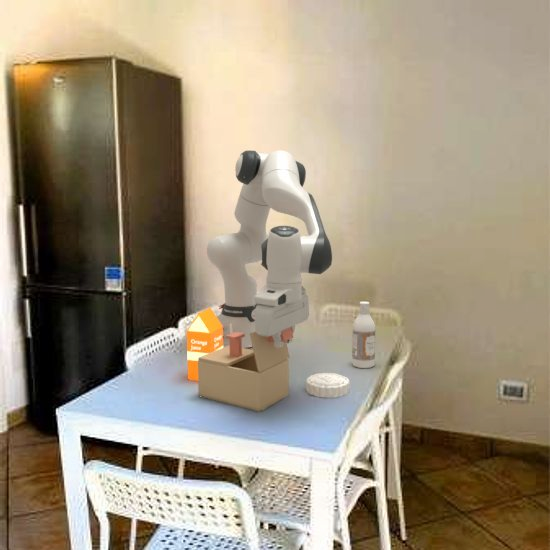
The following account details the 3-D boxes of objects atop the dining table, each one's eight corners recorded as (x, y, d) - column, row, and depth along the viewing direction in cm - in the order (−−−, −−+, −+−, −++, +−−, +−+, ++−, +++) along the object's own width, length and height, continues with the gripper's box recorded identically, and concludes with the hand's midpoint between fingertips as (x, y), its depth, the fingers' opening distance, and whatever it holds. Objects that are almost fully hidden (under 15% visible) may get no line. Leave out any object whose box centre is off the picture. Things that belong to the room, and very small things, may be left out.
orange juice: (224, 372, 184) (222, 307, 181) (211, 382, 176) (210, 314, 173) (200, 370, 187) (198, 306, 184) (187, 379, 179) (185, 312, 175)
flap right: (249, 333, 153) (270, 330, 149) (279, 322, 164) (299, 318, 160) (258, 371, 153) (279, 369, 149) (287, 357, 164) (307, 355, 160)
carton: (198, 396, 165) (197, 360, 164) (230, 381, 177) (229, 348, 175) (259, 411, 154) (259, 373, 153) (289, 394, 166) (288, 359, 164)
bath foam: (362, 370, 186) (363, 305, 183) (347, 364, 192) (348, 301, 188) (379, 366, 190) (380, 302, 186) (364, 360, 195) (365, 299, 192)
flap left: (198, 360, 164) (197, 336, 163) (229, 348, 175) (229, 325, 174) (227, 366, 158) (226, 341, 157) (257, 353, 170) (257, 330, 168)
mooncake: (358, 392, 168) (358, 380, 167) (323, 402, 161) (323, 389, 161) (331, 380, 178) (331, 368, 177) (297, 388, 171) (297, 376, 171)
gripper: (294, 283, 163) (294, 332, 166) (250, 297, 147) (250, 352, 149) (315, 286, 160) (314, 336, 163) (272, 301, 143) (271, 357, 146)
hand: (283, 344), depth 156 cm, fingers closed on flap right, 3 cm apart
